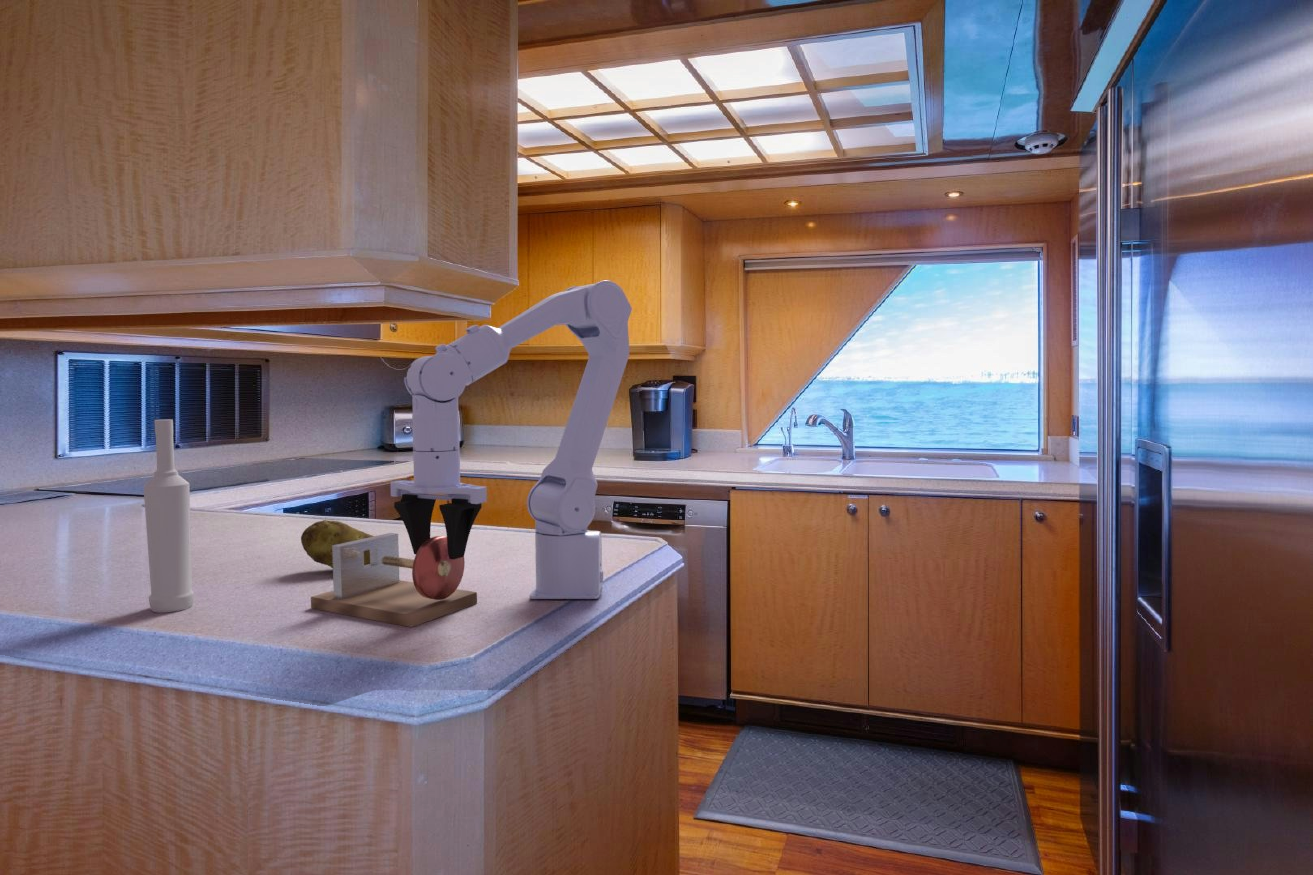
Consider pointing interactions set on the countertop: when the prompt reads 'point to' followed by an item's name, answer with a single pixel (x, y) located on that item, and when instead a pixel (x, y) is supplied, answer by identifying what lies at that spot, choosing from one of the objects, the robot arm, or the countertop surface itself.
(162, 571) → the bottle
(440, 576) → the copper disc on rod
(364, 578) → the eye plate
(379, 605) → the base board
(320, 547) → the potato
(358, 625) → the countertop surface
